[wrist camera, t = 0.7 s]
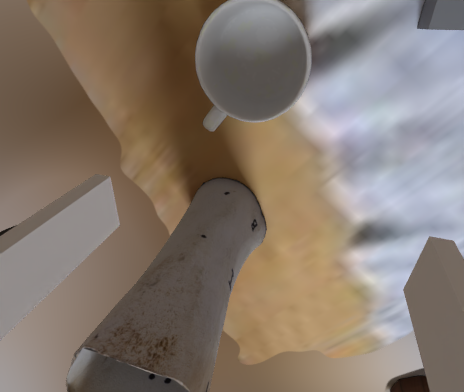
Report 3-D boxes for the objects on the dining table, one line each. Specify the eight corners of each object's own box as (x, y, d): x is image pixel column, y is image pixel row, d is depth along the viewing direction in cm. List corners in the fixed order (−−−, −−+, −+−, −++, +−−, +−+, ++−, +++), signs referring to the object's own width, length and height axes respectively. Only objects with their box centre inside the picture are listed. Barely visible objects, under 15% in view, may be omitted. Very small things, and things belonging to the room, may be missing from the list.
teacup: (272, -28, 30) (255, -42, 23) (336, 61, 32) (336, 72, 25) (186, 71, 37) (154, 81, 30) (242, 137, 39) (224, 161, 32)
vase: (289, 229, 44) (250, 453, 21) (220, 259, 51) (131, 455, 27) (240, 159, 41) (126, 329, 18) (173, 200, 48) (24, 365, 24)
